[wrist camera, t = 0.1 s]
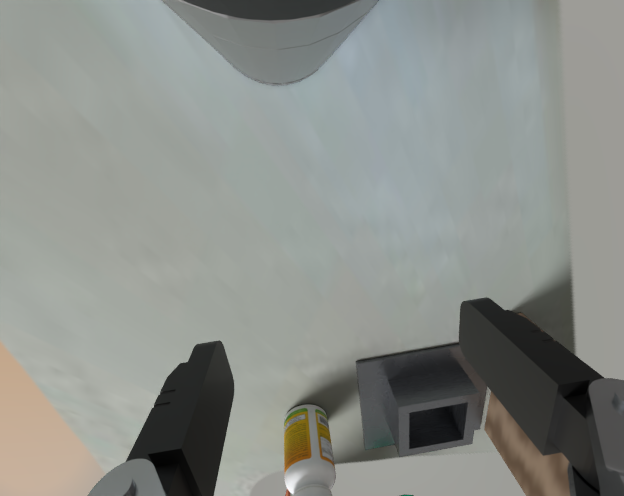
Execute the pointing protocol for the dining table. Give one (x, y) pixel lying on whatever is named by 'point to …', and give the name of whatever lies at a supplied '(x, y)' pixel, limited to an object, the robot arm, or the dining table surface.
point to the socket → (420, 400)
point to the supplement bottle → (308, 452)
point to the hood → (525, 454)
